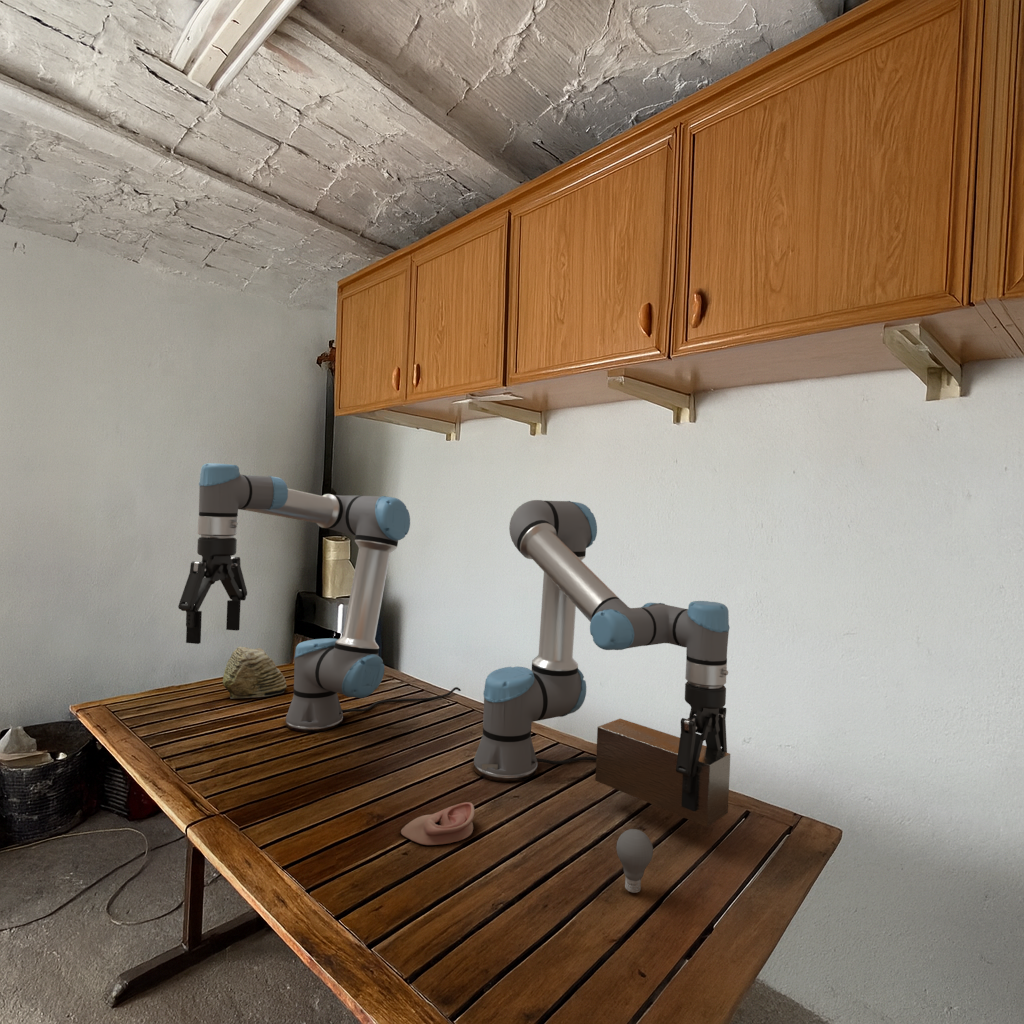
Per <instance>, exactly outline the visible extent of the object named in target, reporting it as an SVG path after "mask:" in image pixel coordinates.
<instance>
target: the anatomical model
mask: <svg viewBox="0 0 1024 1024" xmlns="http://www.w3.org/2000/svg"><path fill="white" fill-rule="evenodd" d="M475 813H476V812H475V806H474V804H473V803H472V802H469V801H467V802H466V801H465V802H461V803H457V804H454V805H451V806H448V807H446V808H444V809H442V810H439V811H437V812H434V813H431V814H425V815H424V814H423V815H420V816H418V817H416V818H414V819H412V820H411V821H409V822H408V823H407V824H405V825H404V826H403V827H402V828H401V830H400V834H401V835H402V836H403V837H404V838H406V839H408V840H410V841H412V842H414V843H417V844H420V845H422V846H423V845H424V846H437V845H446V844H451V843H455V842H459V841H462V840H464V839H467V838H468V837H470V836H471V835H472V834H473V830H474V823H473V821H474V818H475V815H476V814H475Z"/></svg>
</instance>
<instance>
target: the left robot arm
mask: <svg viewBox="0 0 1024 1024" xmlns="http://www.w3.org/2000/svg"><path fill="white" fill-rule="evenodd" d="M198 486H199V488H198V489H199V490H198V491H199V492H198V519H197V520H198V521H197V534H198V535H199V537H198V538H197V548H196V549H197V551H196V552H197V553H196V554H198V555H199V556H201V561H191V562H190V566H189V573H188V577H187V579H186V581H185V585H184V588H183V591H182V594H181V597H180V599H179V603H178V605H177V606H178V609H179V610H180V611H182V612H185V628H186V633H185V643H186V644H194V645H199V644H202V643H201V641H202V615H203V614H202V613H203V611H202V610H200V608H201V607H202V605H203V603H204V601H205V598H206V596H207V595H208V593H209V591H210V588H211V587H212V585H214V584H215V583H216V582H219V581H220V582H221V584H222V586H223V588H224V590H225V593H226V594H227V596H228V598H229V600H227V601H226V625H225V626H226V627H225V630H227V631H237V632H238V631H240V622H241V605H242V604H241V601H246V598H247V596H248V590H247V585H246V582H245V579H244V574H243V571H242V566H241V558H240V556H235V555H236V554H237V546H238V544H237V543H238V539H236V537H234V536H236V535H237V534H238V523H239V522H238V515H239V510H240V511H241V510H242V511H247V512H252V513H257V514H264V515H270V516H275V517H282V518H286V519H292V520H298V521H303V522H310V523H315V524H316V525H317V526H318V527H320V528H321V529H328V530H332V531H334V532H339V533H342V534H346V535H350V536H354V543H355V544H356V545H357V547H358V552H357V557H356V563H355V567H354V573H353V578H352V583H351V588H350V594H349V599H348V604H347V610H346V615H345V620H344V625H343V632H342V636H341V637H340V638H335V637H334V638H332V637H329V638H315V639H308V640H304V641H302V642H299V643H298V644H297V645H296V646H295V652H294V653H295V654H294V656H293V659H294V661H293V662H294V663H293V664H294V668H293V695H292V696H293V697H292V699H291V702H290V704H289V708H288V711H287V713H286V715H285V726H286V728H287V729H289V730H291V731H294V732H295V731H296V732H301V733H316V732H325V731H329V730H332V729H335V728H337V727H339V726H340V725H342V723H343V722H344V714H343V713H351V712H353V713H354V712H355V713H356V712H359V713H360V712H367V711H369V710H371V709H372V708H373V707H376V706H377V705H380V704H386V703H400V702H422V701H432V700H438V699H442V698H445V697H449V696H450V695H452V694H453V692H455V691H456V690H457V692H461V691H462V690H461V688H460V687H458V686H456V687H453V688H452V689H450V691H449V692H447V693H445V694H441V695H437V696H431V697H429V696H428V697H420V698H419V697H418V698H417V697H413V698H393V699H383V700H380V701H376V702H374V703H372V704H370V705H369V706H368V707H364V708H345V709H342V706H341V702H340V699H339V695H338V694H340V695H344V696H346V697H347V698H355V699H365V698H367V697H369V696H370V695H372V694H373V693H374V692H375V690H377V689H378V688H379V686H380V685H381V683H382V681H383V678H384V675H385V663H384V661H383V658H382V657H381V656H379V650H380V646H379V645H378V643H377V642H376V636H377V630H378V624H379V619H380V613H381V608H382V601H383V596H384V591H385V584H386V579H387V573H388V569H389V564H390V559H391V558H390V557H391V553H392V552H393V551H395V550H397V549H398V545H399V541H401V540H403V539H404V538H406V535H408V533H409V531H410V528H411V516H410V512H409V510H408V509H407V506H406V504H405V503H404V501H402V500H401V499H399V498H397V497H393V496H386V495H360V494H359V495H339V494H338V495H337V494H333V493H332V494H331V493H324V494H323V495H320V494H315V493H310V492H306V491H302V490H301V491H300V490H296V489H293V488H289V487H288V485H287V483H286V481H285V480H284V479H283V478H281V477H278V476H272V475H251V474H249V475H247V474H241V472H240V467H239V466H238V465H236V464H229V463H215V462H211V463H210V462H207V463H204V464H203V465H202V466H201V468H200V473H199V481H198Z"/></svg>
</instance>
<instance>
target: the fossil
mask: <svg viewBox="0 0 1024 1024" xmlns="http://www.w3.org/2000/svg"><path fill="white" fill-rule="evenodd" d="M222 676H223V677H222V685H223V687H224V688H225V690H226V691H228V693H229V698H230V699H250V698H264V697H271V696H275V695H281V694H284V693H285V691H286V689H287V687H288V686H287V680H286V678H285V676H284V674H283V673H282V672H281V669H279V668H278V667H277V665H276V663H275V662H274V660H273V659H272V658H271V657H270V656H269V655H268V654H267V653H266V652H265V650H264V649H263V648H260V647H258V648H251V647H247V646H246V647H245V646H238V647H237V648H236V649H235V650H233V651H232V653H231V656H230V657H229V659H228V660H227V663H226V666H225V668H224V671H223V675H222Z"/></svg>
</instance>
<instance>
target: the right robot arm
mask: <svg viewBox="0 0 1024 1024" xmlns="http://www.w3.org/2000/svg"><path fill="white" fill-rule="evenodd" d="M508 530H509V536H510V540H511V541H512V543H513V546H514V547H515V548H516V549H517V551H518V552H519V553H520V554H521V555H522V556H523V557H524V558H526V559H528V560H532V561H534V563H535V564H536V565H537V566H538V567H539V568H540V569H541V570H542V571H543V579H542V594H541V595H542V596H541V609H540V610H541V611H540V612H541V613H540V626H539V640H538V641H539V643H538V654H537V655H536V657H533V659H532V661H531V668H528V667H525V666H506V667H501V668H497V669H495V670H493V671H491V672H489V674H488V675H487V676H486V678H485V681H484V682H485V683H484V690H483V694H482V695H483V712H482V713H483V717H482V734H481V735H482V736H481V738H480V741H479V744H478V747H477V749H476V753H475V754H474V758H473V771H474V772H475V773H476V774H477V775H478V776H480V777H482V778H483V779H486V780H490V781H493V782H499V783H516V782H523V781H526V780H529V779H531V778H532V777H534V776H535V775H536V774H537V773H538V763H543V764H544V763H545V764H549V765H564V764H570V763H574V762H579V761H594V762H596V756H577V757H572V758H567V759H563V760H562V759H561V760H552V759H548V758H547V759H546V758H539V757H537V755H536V751H535V747H534V744H533V741H532V723H534V722H539V721H543V720H548V719H553V718H554V719H555V718H563V717H566V716H568V715H570V714H574V713H576V712H577V711H579V709H580V708H581V707H582V706H583V704H584V703H585V700H586V696H587V682H586V679H584V678H585V676H584V673H583V672H582V670H580V669H579V663H578V662H577V661H576V660H575V658H574V643H575V627H576V613H577V609H578V611H580V612H581V613H582V615H583V616H584V617H585V618H586V619H587V620H588V621H589V622H590V623H589V633H590V635H591V637H592V642H593V643H594V644H595V645H596V646H597V647H598V648H599V649H602V650H604V651H623V650H627V649H633V648H638V647H646V646H647V647H648V646H654V645H662V644H670V645H674V646H677V647H681V648H686V652H685V653H686V656H685V657H686V658H685V675H684V676H685V677H684V679H685V680H686V682H685V684H684V701H685V702H686V703H687V704H688V705H689V706H690V711H689V714H688V715H689V716H688V718H684V717H682V718H680V734H679V738H680V742H679V749H678V757H677V764H676V772H678V773H681V774H683V782H682V807H684V808H687V809H689V810H692V811H694V812H695V811H696V810H697V788H698V775H695V774H696V770H697V765H698V761H699V757H700V753H701V749H702V745H704V741H705V746H707V747H709V748H712V749H716V750H720V751H723V752H726V753H728V745H727V744H728V742H727V740H728V739H727V724H726V723H727V721H726V720H727V718H726V717H727V708H726V707H725V705H726V702H727V701H726V699H727V688H726V686H725V684H727V676H728V675H729V670H728V644H729V632H730V623H729V621H730V619H729V616H730V615H729V608H728V607H727V606H726V604H724V603H721V602H717V601H708V600H693V601H691V602H690V603H688V608H683V607H679V606H675V605H669V604H665V603H663V602H647V603H645V604H643V605H642V606H640V607H630V606H628V605H627V604H626V603H625V602H624V601H623V600H622V599H621V598H620V597H619V596H617V594H616V593H615V592H614V591H612V589H610V587H608V585H606V583H605V582H604V581H602V580H601V578H599V576H597V575H596V573H595V572H594V571H593V570H592V569H591V568H589V567H588V566H587V564H586V563H585V562H583V560H585V558H586V552H587V549H588V548H589V547H591V546H592V545H593V544H594V542H595V541H596V539H597V535H598V524H597V520H596V517H595V514H594V513H593V512H592V511H591V508H590V507H588V505H586V504H584V503H582V502H578V501H570V500H543V499H531V500H528V501H526V502H523V503H522V504H521V505H520V506H518V507H517V508H516V509H515V510H514V512H513V513H512V515H511V518H510V521H509V529H508Z"/></svg>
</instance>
